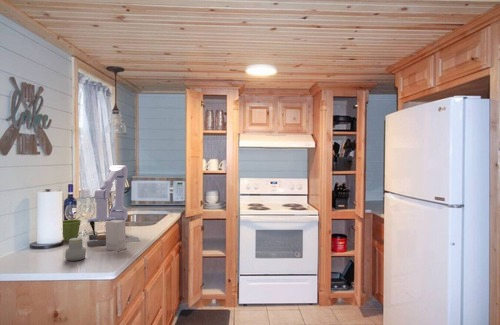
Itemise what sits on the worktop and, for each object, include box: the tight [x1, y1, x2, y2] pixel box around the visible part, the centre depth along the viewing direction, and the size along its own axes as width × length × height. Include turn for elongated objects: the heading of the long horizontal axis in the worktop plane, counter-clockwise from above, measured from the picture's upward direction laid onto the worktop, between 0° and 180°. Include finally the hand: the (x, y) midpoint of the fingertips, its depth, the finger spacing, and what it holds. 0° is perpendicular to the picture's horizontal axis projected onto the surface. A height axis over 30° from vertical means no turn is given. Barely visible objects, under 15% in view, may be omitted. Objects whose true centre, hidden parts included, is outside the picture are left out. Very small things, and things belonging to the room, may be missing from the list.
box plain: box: [95, 230, 106, 240], centre depth 216 cm, size 4×4×5 cm
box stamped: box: [97, 233, 106, 240], centre depth 209 cm, size 4×4×5 cm
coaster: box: [126, 236, 141, 243], centre depth 219 cm, size 11×11×1 cm
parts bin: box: [87, 233, 106, 247], centre depth 212 cm, size 17×14×3 cm
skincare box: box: [104, 220, 127, 252], centre depth 197 cm, size 8×7×16 cm
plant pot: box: [62, 219, 82, 242], centre depth 217 cm, size 12×12×11 cm
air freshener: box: [64, 237, 86, 262], centre depth 178 cm, size 11×8×10 cm
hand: (101, 234), depth 209 cm, fingers open, 7 cm apart
